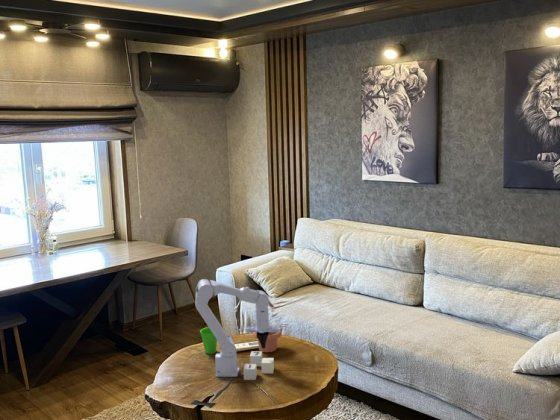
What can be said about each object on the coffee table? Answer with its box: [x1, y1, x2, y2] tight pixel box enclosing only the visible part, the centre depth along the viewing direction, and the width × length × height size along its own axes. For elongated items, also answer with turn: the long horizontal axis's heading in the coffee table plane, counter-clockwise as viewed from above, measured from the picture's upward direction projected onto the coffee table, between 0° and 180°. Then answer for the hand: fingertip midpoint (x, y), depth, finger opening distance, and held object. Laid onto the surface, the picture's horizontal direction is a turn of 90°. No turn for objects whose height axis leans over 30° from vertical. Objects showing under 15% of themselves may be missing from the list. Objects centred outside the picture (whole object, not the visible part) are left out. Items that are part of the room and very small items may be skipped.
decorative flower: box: [252, 300, 283, 353], centre depth 272 cm, size 15×14×30 cm
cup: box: [199, 326, 218, 355], centre depth 274 cm, size 9×9×11 cm
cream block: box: [260, 357, 275, 374], centre depth 252 cm, size 5×5×5 cm
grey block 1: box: [243, 363, 258, 381], centre depth 247 cm, size 5×5×5 cm
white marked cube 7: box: [249, 350, 263, 367], centre depth 259 cm, size 5×5×5 cm
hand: (263, 347), depth 253 cm, fingers closed
